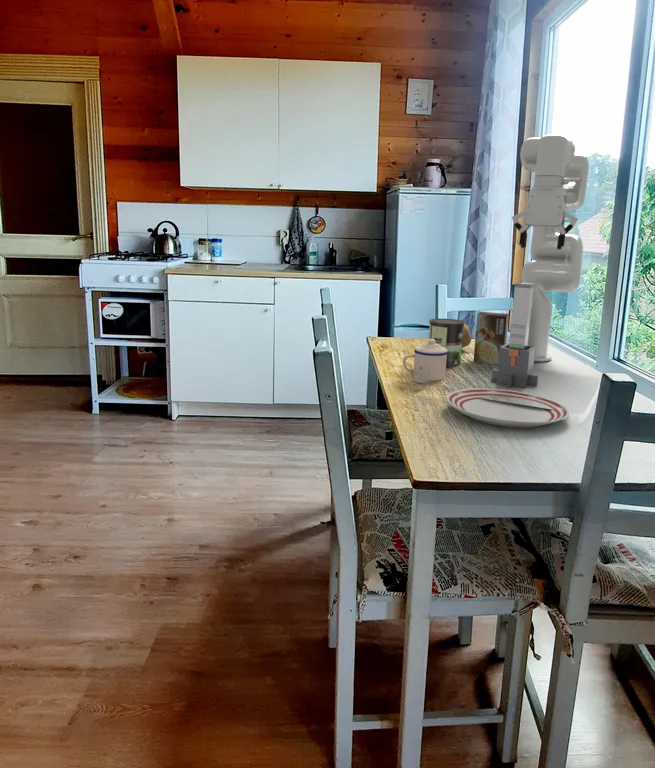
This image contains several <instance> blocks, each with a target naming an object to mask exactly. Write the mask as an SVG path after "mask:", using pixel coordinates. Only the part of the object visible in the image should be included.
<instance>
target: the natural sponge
mask: <svg viewBox="0 0 655 768" xmlns="http://www.w3.org/2000/svg"><path fill="white" fill-rule="evenodd" d="M471 341H472V334H471V330H470V327H469V326H468V325H467V324H466V323H465V322H464V328H463V341H462V349H464V348H465V347H467V346H469V345H470V344H471Z"/></svg>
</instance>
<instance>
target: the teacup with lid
mask: <svg viewBox="0 0 655 768" xmlns="http://www.w3.org/2000/svg"><path fill="white" fill-rule="evenodd" d="M413 352H414V354H411V353H410V354H406V355H405V356H404V357H403V359H402V366H403V368H404V370H406V372H409V373H413V377H412V378H413V379H412V380H413V381H414V382H415V381H416V382H415V383H417V382H418V383H417V384H420V383H422V385H425V384H426V383H428V382H430V381H442V380H445V378H446V371H447V370H446V359H447V354H448V351H447V349H446V348H444V347H441V346H440V345H439V344H436V343H435V340H434V339H429V338H428V340H427V342H425V343H422V344H421V345H418V346H416V347H414V349H413ZM409 358H414V363H413V369H411V368H408V366H407V365H406V360H407V359H409Z"/></svg>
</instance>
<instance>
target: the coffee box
mask: <svg viewBox="0 0 655 768" xmlns="http://www.w3.org/2000/svg"><path fill="white" fill-rule="evenodd" d="M509 318H510V314H509V313H503V312H502V313H501V312H488V311H479V312H477V314H476V324H475V336H474V337H475V339H474V351H473V362H476V363H480V364H482V363H483V364H491V365H497V366H498V363H499V353H500V347H502V346H503V345H505V344H506V343H507V342H508V341H507V340H508V328H509Z"/></svg>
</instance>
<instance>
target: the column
mask: <svg viewBox="0 0 655 768" xmlns="http://www.w3.org/2000/svg"><path fill="white" fill-rule="evenodd" d="M533 291H534V283H523V282H522V281H521V282H520V281H518V282H515V283H514V291H513V292H514V293H513V300H512V302H513V303H512V308H511V310H512V311H511V321H510V330H509V338H508V339H509V340H508V343H509V348H512V349H520V350H527V344H528V335H529V326H530V317H531V308H532V299H533Z"/></svg>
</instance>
